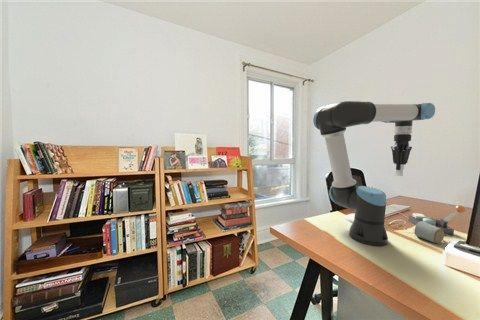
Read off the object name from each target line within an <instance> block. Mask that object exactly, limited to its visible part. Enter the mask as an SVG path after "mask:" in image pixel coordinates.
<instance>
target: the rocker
mask: <svg viewBox="0 0 480 320" xmlns="http://www.w3.org/2000/svg"><path fill="white" fill-rule="evenodd" d="M412 216H414V217H415V218H418V219H423V218H426V217H427V216H426V215H424V214H423V213H417V212H416V213H415V212H413V213H412Z"/></svg>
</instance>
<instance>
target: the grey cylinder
mask: <svg viewBox="0 0 480 320" xmlns="http://www.w3.org/2000/svg"><path fill="white" fill-rule="evenodd" d="M413 231H414V232H413V233H414V236H415V237H418V238H420V239H423V240H426V241H428V242H430V243H433V244H440V243H442V242H443V241H444V238H445V234H444V231H443V230H442V229H440V228H438V227H436V226H433V225H431V224H428V223H426V222H423V221H420V222H418V223H417V225H415V226H414V230H413Z"/></svg>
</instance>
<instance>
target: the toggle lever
mask: <svg viewBox="0 0 480 320" xmlns="http://www.w3.org/2000/svg"><path fill="white" fill-rule="evenodd" d="M465 212H466V208H465V206H462V205H455V207H454V211H452V212H451V213H450V214H448V215H447V216H446V217H445V218H442V219H443V220H442V221H444V224H445V223H446V222H447V221H448V222H449V221H450V220H451V219H453V217H456V215H458V214H459V213H460V214H461V213H462V214H463V213H465Z"/></svg>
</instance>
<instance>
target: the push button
mask: <svg viewBox="0 0 480 320" xmlns="http://www.w3.org/2000/svg"><path fill="white" fill-rule="evenodd" d="M433 221H434V220H432V219H428V218H423V222H426V223H428V224H431V225H433Z"/></svg>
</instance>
